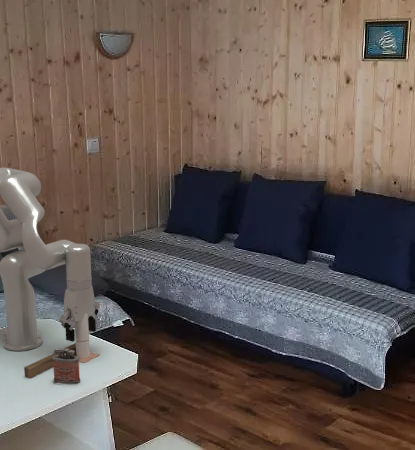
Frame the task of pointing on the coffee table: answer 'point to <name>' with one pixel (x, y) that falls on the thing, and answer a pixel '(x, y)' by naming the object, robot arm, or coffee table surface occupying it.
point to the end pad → (92, 355)
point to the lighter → (66, 367)
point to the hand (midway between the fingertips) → (81, 335)
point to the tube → (82, 338)
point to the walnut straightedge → (43, 364)
